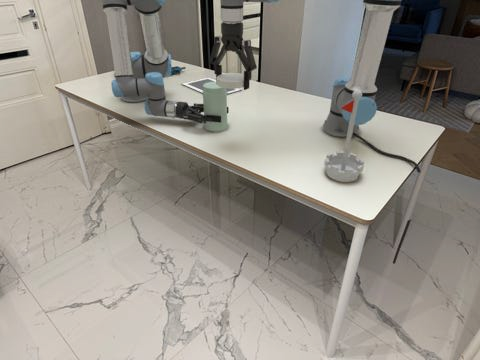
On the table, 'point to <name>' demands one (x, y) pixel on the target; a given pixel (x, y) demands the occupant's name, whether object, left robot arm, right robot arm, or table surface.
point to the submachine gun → (176, 69)
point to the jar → (215, 105)
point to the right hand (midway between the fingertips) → (232, 86)
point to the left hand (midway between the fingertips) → (224, 114)
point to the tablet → (199, 84)
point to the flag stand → (346, 151)
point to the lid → (230, 80)
